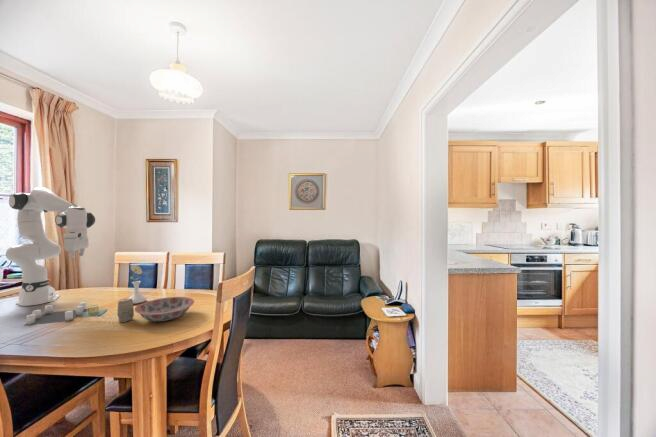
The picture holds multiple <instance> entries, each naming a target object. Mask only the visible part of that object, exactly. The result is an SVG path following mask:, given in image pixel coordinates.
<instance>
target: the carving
mask: <svg viewBox="0 0 656 437" xmlns="http://www.w3.org/2000/svg"><path fill="white" fill-rule="evenodd" d="M116 313H117V318H118V321H119V322H120V323H126V322H129V321H131V320H133V318H134V316H135V307H134V304H133V301H132V299H130V298H129V297H127V298H120V300H118V302H117V312H116Z"/></svg>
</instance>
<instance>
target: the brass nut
mask: <svg viewBox="0 0 656 437" xmlns="http://www.w3.org/2000/svg"><path fill="white" fill-rule="evenodd" d="M87 309H88V310H87V311H88V314H89V315H91V314H96V313H99V310H100V305H99V304H92V305H89V306H87Z"/></svg>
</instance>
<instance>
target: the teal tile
mask: <svg viewBox="0 0 656 437" xmlns="http://www.w3.org/2000/svg"><path fill="white" fill-rule="evenodd" d="M107 311H108V309H99V313H96V314H91V315H89V314H88V310H86V311H85V312H83V314H82V315H79V316H78V318H84V317H85V318H86V317H96V316H97V317H101V316H102V315H103V314H105V313H106V312H107Z"/></svg>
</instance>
